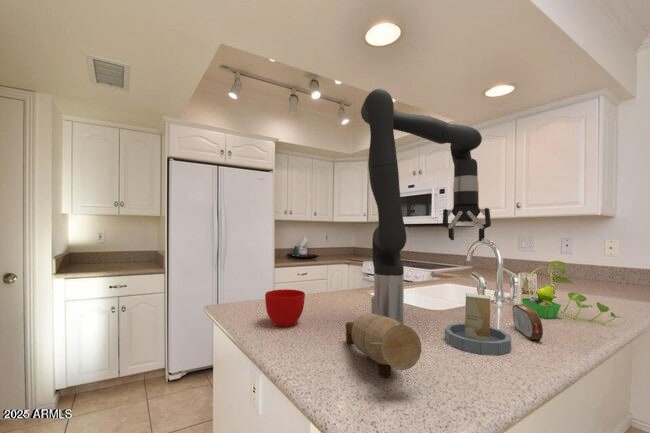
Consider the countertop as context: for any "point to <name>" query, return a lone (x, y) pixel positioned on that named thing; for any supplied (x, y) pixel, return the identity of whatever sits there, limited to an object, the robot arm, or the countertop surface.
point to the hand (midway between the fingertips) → (466, 240)
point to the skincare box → (477, 317)
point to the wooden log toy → (385, 342)
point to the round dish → (495, 346)
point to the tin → (527, 321)
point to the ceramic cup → (284, 306)
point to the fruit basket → (543, 303)
